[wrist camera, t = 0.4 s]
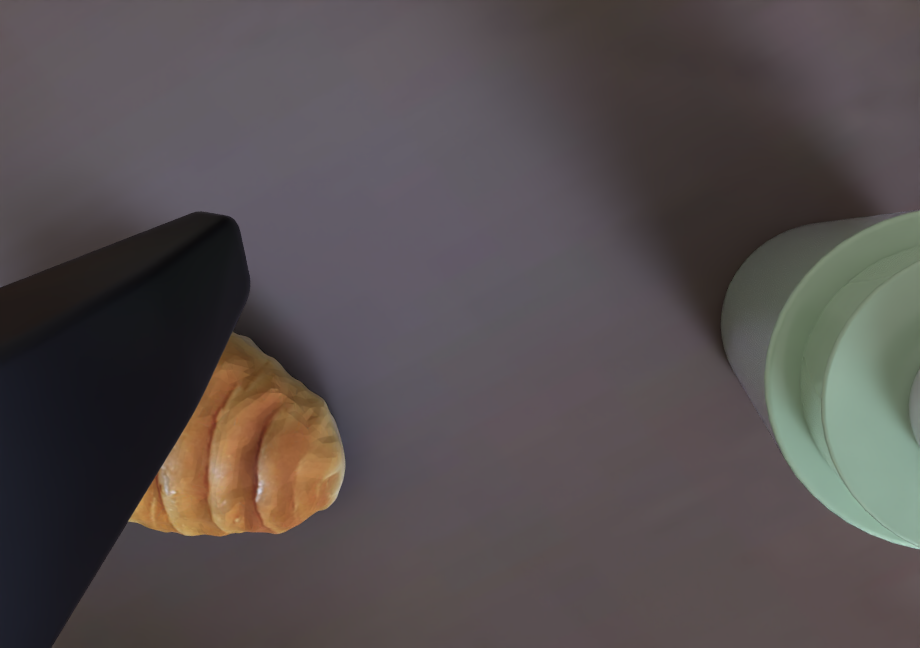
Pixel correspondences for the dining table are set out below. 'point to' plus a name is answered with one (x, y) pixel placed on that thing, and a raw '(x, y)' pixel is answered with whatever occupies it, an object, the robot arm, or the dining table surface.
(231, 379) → the pastry
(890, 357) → the pepper mill
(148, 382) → the robot arm
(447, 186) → the dining table surface
